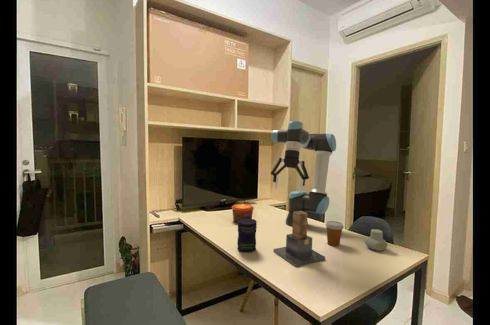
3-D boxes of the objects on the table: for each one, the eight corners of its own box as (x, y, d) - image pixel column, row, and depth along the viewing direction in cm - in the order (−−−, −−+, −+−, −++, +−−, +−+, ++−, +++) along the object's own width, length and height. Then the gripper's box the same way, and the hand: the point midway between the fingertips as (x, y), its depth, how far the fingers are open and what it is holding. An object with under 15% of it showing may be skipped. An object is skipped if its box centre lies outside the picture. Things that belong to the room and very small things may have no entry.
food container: (226, 221, 183) (227, 206, 182) (239, 216, 196) (239, 202, 196) (245, 225, 174) (245, 210, 174) (257, 220, 188) (258, 205, 187)
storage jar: (254, 253, 131) (255, 224, 130) (235, 251, 132) (236, 223, 131) (257, 246, 140) (257, 219, 139) (239, 244, 142) (239, 217, 141)
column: (299, 249, 133) (301, 210, 131) (306, 252, 128) (307, 213, 127) (291, 250, 130) (292, 211, 129) (297, 254, 126) (299, 214, 124)
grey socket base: (301, 246, 142) (301, 228, 141) (325, 259, 126) (326, 239, 125) (273, 251, 133) (274, 232, 133) (295, 267, 117) (296, 245, 117)
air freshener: (379, 245, 146) (380, 228, 145) (390, 251, 138) (391, 233, 137) (361, 246, 144) (363, 228, 144) (371, 252, 136) (372, 233, 135)
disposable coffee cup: (342, 242, 149) (343, 222, 148) (342, 248, 140) (343, 227, 139) (324, 240, 152) (325, 220, 151) (324, 246, 143) (325, 224, 142)
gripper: (271, 146, 132) (266, 187, 131) (317, 152, 134) (313, 193, 133) (268, 148, 139) (263, 187, 138) (312, 154, 142) (308, 192, 140)
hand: (288, 190), depth 136 cm, fingers open, 13 cm apart
